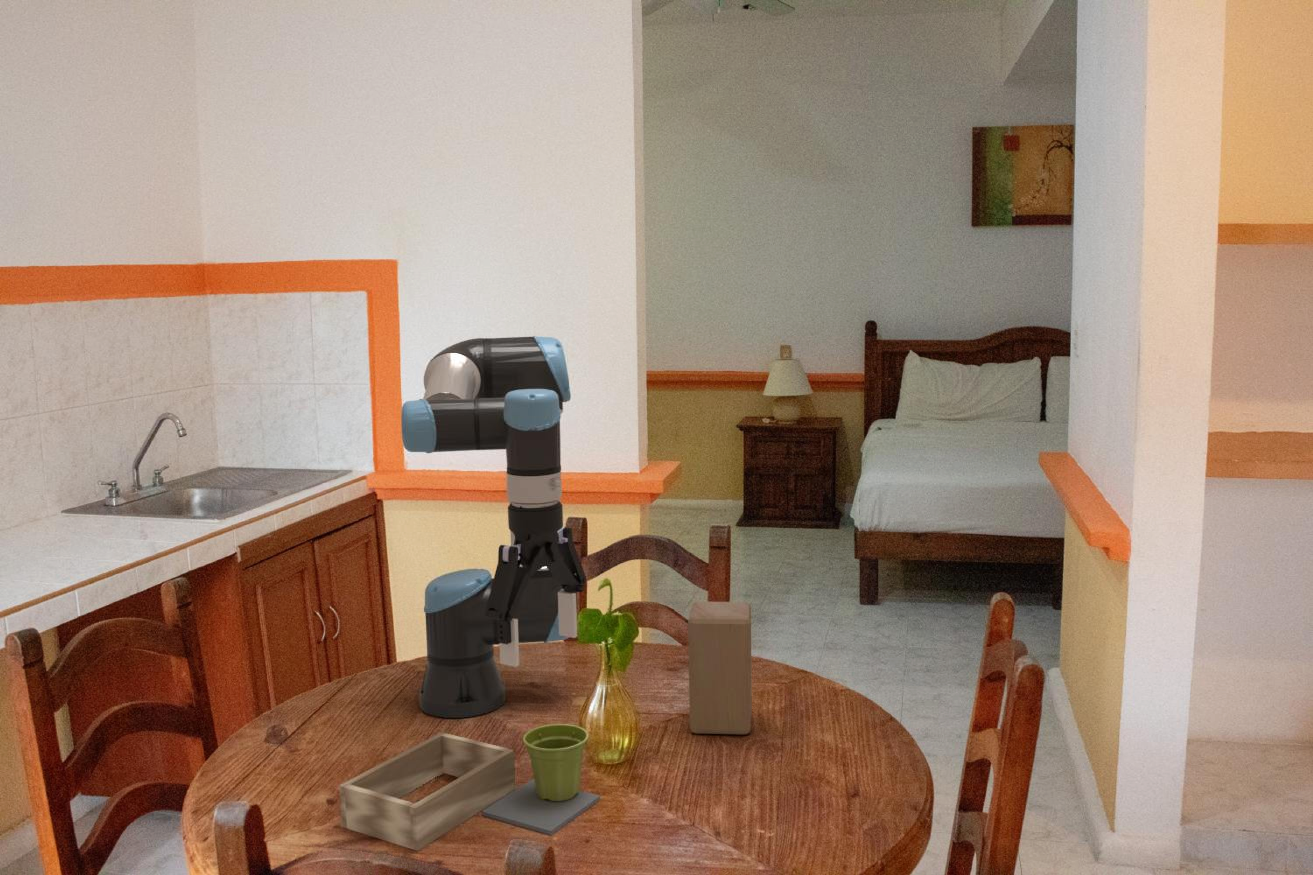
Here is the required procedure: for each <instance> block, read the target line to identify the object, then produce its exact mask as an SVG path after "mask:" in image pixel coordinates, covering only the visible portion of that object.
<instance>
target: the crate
mask: <svg viewBox="0 0 1313 875" xmlns="http://www.w3.org/2000/svg"><path fill="white" fill-rule="evenodd" d="M515 762H516V761H515V749H511V748H507V747H502V746H499V745H495V744H491V743H487V742H482V741H479V740H475V739H471V738H466V737H462V736H458V735H454V734H450V733H445V732H443V731H442V732H439V733H437V734H435V735H433V736H431V737H429V738H428V739H426V740H424V741H422V742H420V743H418V744H416V745H414V746H412V747H410V748H407V749H406V750H404V751H402V752H400V753H399V754H397V755H395V756H392V757H391V758H390V759H387V760H385V761H384V762H381V763H380V764H378V765H376V766H374V767H371V768H370V769H368V770H366V771H364V772H362V773H361V774H359V775H357V776H355V777H353V778H351V779H349V780H347V781H345V782H343V783H341V784H339V786H338V788H339V789H338V790H339V807H340V820H341V821H340V823H341V824H340V825H341V827H342V828H345V829H348V830H350V831H354V832H357V833H360V834H363V835H366V836H370V837H372V838H375V839H376V838H377V839H379V840H382V841H385V842H389V843H392V844H394V845H396V846H400V847H404V848H406V849H411V850H412V851H413V850H414V851H416V852H418V851H420V850H422V849H423V848H425V847H426V846H428V845H430V844H431V843H432V842H434V841H436V840H437V839H439V838H440V837H442V836H444V835H445V834H447V833H449V832H450V831H451V830H453V829H455V828H457V827H458V826H459V825H461V824H463V823H464V822H466V821H467V820H469V819H470V818H471V817H474V816H476V815H477V814H478V813H480V812H482V811H483V810H484V809H486V808H488V807H489V806H491V805H492V804H494V803H495V802H497V801H499V800H500V799H502V798H503V797H505V796H506V795H508V794H509V793H511V792H513V791H514V790H516V767H515V765H516V764H515ZM443 774H445V775H449V776H453V777H456V778H457V779H454V780H453V781H452V782H450V783H449V782H448V784H446V785H444V786H443V787H441V788H439V789H437V790H435V791H434V792H433V793H431V794H429V795H427V796H425V797H424V798H422V799H421V800H419V801H417V802H412V801H408V800H404V799H401V798H403V797H405V796H406V795H408V794H409V793H412V792H413V791H415V790H416V788H417V789H418V788H421V786H424V785H425V784H427V783H429V782H430V780H431V781H432V780H434V779H436V778H438V777H440V776H441V775H443ZM437 776H438V777H437ZM435 777H436V778H435ZM423 784H424V785H423Z"/></svg>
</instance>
